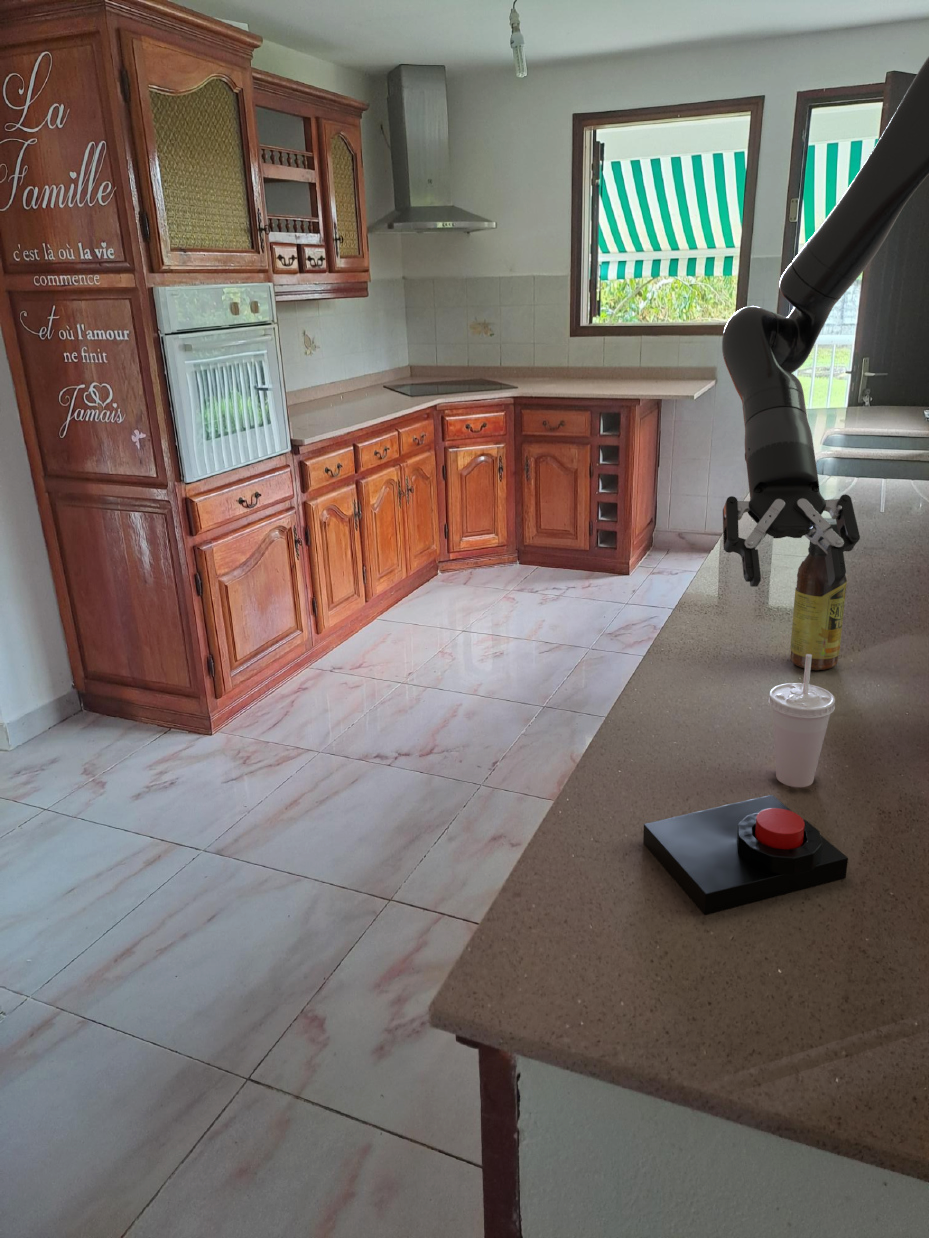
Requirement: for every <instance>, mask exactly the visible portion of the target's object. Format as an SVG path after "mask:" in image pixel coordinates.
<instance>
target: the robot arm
mask: <svg viewBox="0 0 929 1238" xmlns="http://www.w3.org/2000/svg"><path fill="white" fill-rule="evenodd" d="M928 176H929V56H928V57H927V58H926V60H925V61H924V62H923V64H922V65H921V67H920V68H919V70H918V72H917V74H916V75H915V77H914V79H913V81H912V82H911V83H910V85H909V87H908V88H907V90H906V93H905V94H904V96H903V98H902V99H901V101H900V103H899V105H898V107H897V108H896V110H895V111H894V114H893V115H892V117H891V118H890V121H889V123H888V124H887V126H886V127H885V130H884V131H883V133H882V135H880V138H879V139H878V141H877V143H876V144H875V146H874V147H873V149H872V150H871V152H870V154H869V155H868V157H867V159H865V162H864V163H863V165H861V168H860V169H859V171H858V172H857V174H856V176H855V177H854V178H853V180H852V182H851V183H850V184H849V186H848V187H847V189H846V190H845V191H844V193H843V194H842V195H841V197H840V198H839V200H838V201H837V203H835V205H834V207H833V208H832V209H831V210H830V212H829V213H828V215H827V216H826V217H825V219H824V220H823V221H822V223H820V225H819V227H817V229H816V230H815V231H814V233H813V234H812V236H811V237H809V239H808V241H807V242H806V243H804V246H803V247H802V248H801V249H800V250H799V252H798V254H797V255H796V256H795V257H794V258H793V260H792V262H791V263H790V264H789V265H788V266H787V268H786V269H785V271H784V272H783V273H782V275H781V277H780V280H779V282H778V283H779V286H778V287H779V291H780V294H781V295H782V297H783V298H784V299H785V300H786V302H788V303H789V304H790V305H791V306H792V307H793V309H792V310H791V312H790V313H789V315H788V316H784V315H781V314H779V313H777V312H774V311H771V310H769V309H766V308H764V307H760V306H754V305H751V306H745V307H743V308H740V309H739V310H737V311H736V312H734V313H733V314H732V315H731V316H730V318H729V319H728V321H727V323H726V325H725V326H724V329H723V333H722V339H721V350H722V351H721V352H722V357H723V360H724V364H725V367H726V368H727V372H728V374H729V376H730V378H731V381H732V383H733V386H734V388H735V390H736V393H737V394H738V396H739V398H740V400H741V403H742V414H743V423H744V460H745V464H746V472H747V481H748V490H749V500H738V498H737V497H735V496H734V495H731V496H728V497H727V499H726V500H725V503H724V506H723V508H722V541H723V542H722V545H723V550H724V552H726V553H728V554H731V553H735V554H738V555H739V556H740V557H741V563H742V564H741V565H742V573H743V579H744V581H745V582H746V583H749V587H750V588H751V587H752V588H753V587H755V588H756V587H759V585H760V583H761V580H762V574H761V565H760V557H759V549H757V547H758V546H759V545H760V544H761V543H762V541H764V539H765V537H767V535H768V536H770V537H772V539H783V538H787V537H788V538H791V539H792V538H793V539H802V538H803V537H806V538H807V539H808V541H809V542H810V541H811V542H812V543H813V544H817V545H818V546H819V547H820V548H821V549H822V550H823V551H824V552H825V553H826V554H827V555H826V557H825V560H826V567H827V574H828V582H829V586H837V585H838V584H839V583H840V581H841V580H842V579H843V578H844V576H846V573H847V569H846V561H845V555H844V552H851V551H852V550H853V549H854V548H855V546H856V544H857V543H858V542H859V541H860V540H861V535H860V531H859V527H858V522H857V519H856V513H855V509H854V504H853V501H852V497H851V495H848V494H845V493H844V494H842V495H840V497H839V498H833V499H825V498H824V497H823V495H822V494H821V491H820V482H819V475H818V467H817V461H816V460H817V459H816V454H815V446H814V439H813V434H812V430H811V427H810V423H809V420H808V413H807V407H806V401H805V394H804V389H803V385H802V383H801V381H800V379H799V378H798V377H797V376H796V375H795V374H794V373H795V372H796V371H797V370H799V369H800V368H801V367H802V366H803V365H804V364H805V362H806V361H807V360H808V358H809V357H810V354H811V353H812V350H813V348H814V346H815V344H816V342H817V339H818V338H819V336H820V334H821V332H822V330H823V328H824V326H825V324H826V322H827V320H828V318H829V316H830V314H831V312H832V311H833V308H834V306H835V305H836V304H837V303H838V302H839V300H840V299H841V298H842V297H843V296H844V295H845V294H846V292H847V291H848V290H849V289H850V288H851V286H852V285H853V284H854V283H855V282H856V280H857V279H858V278H859V277H860V276H861V274H863V272H864V271H865V269H867V267H868V266H869V264H870V263H871V262H872V260H873V259H874V258H875V256H876V255H877V253H878V252H879V250H880V249H881V247H882V245H883V244H884V242H885V241H886V239H887V237H888V235H889V234H890V231H891V230H892V228H893V227H894V224H895V223H896V221H897V219H898V218H899V215H900V214H901V212H902V211H903V209H904V208H905V206H906V204H907V203H908V202H909V200H910V199H911V197H912V196H913V195H914V193H915V192H916V191H917V189H918V188H919V187H920V186H921V185H922V183H923V182H924V181H925V180H926V178H927V177H928ZM824 512H827V513H828V514H829V516H830V518H832V519H836V523H837V527H838V532H839V536H838V535H837V534H836V533H835V532H834V531H833V530H832V528H831V525H830V523H829V522H827V521H826V520H825V519H824V518H825V517H824V516H822V514H823V513H824ZM746 513H747V514H748V515H749V517H750V518H751V519H752V520H753V521H754V522H755V523H756V525H755V527H754V528H753V530H752V531H751V532H750V534H749V535H748V536H747V538H746V539H745V538H742V537H739V536H740V535H739V532H740V531H739V521H741V520H742V518H743V516H744V514H746ZM813 526H815V527H816V529H817V530H816V529H815V528H814V527H813Z"/></svg>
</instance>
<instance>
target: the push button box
mask: <svg viewBox="0 0 929 1238" xmlns="http://www.w3.org/2000/svg"><path fill="white" fill-rule="evenodd" d="M770 808H779V809H785V810H789V811H792V809H790V808H789V807H787V806H786V804H784V803H783V802H782V801H781V800H779V798H777V797H776V796H775V795H773V794H769V795H764V796H761V797H755V798H752V799H747V800H743V801H739V802H734V803H729V804H725V805H721V806H717V807H712V808H708V809H704V810H699V811H695V812H694V811H693V812H691V813H686V814H682V815H677V816H673V817H669V818H664V819H660V820H656V821H652V822H647V823H644V824H643V835H642V836H643V838H642V839H643V842H642V843H643V845H644V847H646V849H647V850H648V851H649V852H650V853H651V854H652V856H653V857H654V858H655V859H656V860H657V862H659V864H660V865H661V866H662V867H663V869H664V870H665V871H666V872H667V874H669V876H670V877H671V878H672V879H673V880H674V881H675V883H676V884H677V885H678V886H679V887H680V889H682V891H683V892H684V893H685V894H686V895H687V897H688V898H689V899H690V900H691V901H692V903H693V904H694V905H695V906H696V907H697V909H699V911H700V912H701V913H702V914H703V915H704V916H709V915H711V914H716V913H719V912H723V911H727V910H730V909H735V908H739V907H743V906H746V905H750V904H754V903H756V902H761V901H765V900H768V899H772V898H776V897H781V896H784V895H788V894H792V893H796V892H800V891H803V890H807V889H810V888H814V887H818V886H822V885H826V884H830V883H834V882H837V881H841V880H844V879H846V878H847V870H848V864H849V863H848V862H849V857H848V856H846V855H845V854H844V853H843V852H842V851H841V850H840V849H839V848H837V847H836V846H834V844H832V843H831V842H830V841H829V840H828V839H826V838H825V837H824V836H823V835H821V831H820V830H819V829H817V828H816V827H815V826H814V825H813V824H811V823H810V822H809V821H808V820H806V819H804V818H802V819H803V821H804V823H805V827H804V837H803V843H802V845H801V846H800V847H798V848H794V849H790V850H787V849H775V848H772V847H770V846H767V845H765V844H762V843H760V842H759V841H758V840H757V839H756V837H755V828H756V817H757V814H758V813H759V812H761V811H763V810H765V809H770Z"/></svg>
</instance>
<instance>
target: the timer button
mask: <svg viewBox="0 0 929 1238" xmlns="http://www.w3.org/2000/svg"><path fill="white" fill-rule="evenodd" d="M803 819H804V818H803V817H801V816H800V815H799V814H798V813H796V812H794V811H792V810H791V811H789V810H785V809H779V808H770V809H765V810H763V811H761V812H759V813H758V814H757V817H756V828H755V837H756V839H757V840H758V841H759V842H760V843H762V844H765V845H767V846H770V847H772V848H775V849H787V850H790V849H794V848H798V847H800V846H801V845H802V843H803V837H804V827H805V823H804V821H803Z"/></svg>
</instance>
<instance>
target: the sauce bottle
mask: <svg viewBox="0 0 929 1238" xmlns="http://www.w3.org/2000/svg"><path fill="white" fill-rule="evenodd" d="M823 518H824V519H825V520H826V521H827V522H829V523H830V525H831V528H832V530H833V531H834V532H835V533H836V534H837V535H838V536H839V532H838V527H837V523H836V519H832V518H831V517H823ZM813 527H814V528H815V529H816V527H815V526H813ZM816 530H817V529H816ZM808 545H809V546H808V548H807V552H808V554H807V555H806V557H805V558H804V559H803V560H802V561H801V563H800V564H799V566H798V568H797V574H796V587H795V589H794V601H793V609H792V610H793V613H792V623H791V633H790V634H791V635H790V646H789V647H790V648H789V649H790V655H789V656H790V657H789V658H790V662H791V663H792V664H794V665H795V666H796V667H799V668H801V669H805V660H806V654H811V655H812V659H811V670H810V671H823V670H824V671H825V670H829V669H832V668H834V667H835V666H836V665H837V664H838V659H839V655H840V649H841V641H842V630H843V622H844V614H845V613H844V612H845V601H846V593H847V584H848V583H847V582H848V580H847V577H846V576H847V575H845V576H844V578H843V579H842V580H841V581H840V583H839V584H838V585H837V586H829V582H828V574H827V567H826V560H825V557H826V555H827V554H826V553H825V552H824V551H823V550H822V549H821V548H820V547H819V546H818V545H817V544H813V543H812V542H811V541H810V540H809V543H808Z"/></svg>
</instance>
